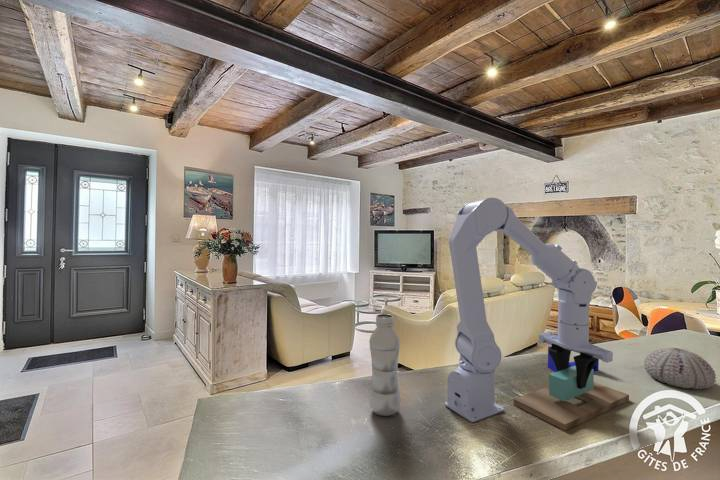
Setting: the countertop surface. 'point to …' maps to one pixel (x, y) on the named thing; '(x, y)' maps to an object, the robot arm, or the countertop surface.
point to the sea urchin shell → (680, 368)
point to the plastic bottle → (384, 367)
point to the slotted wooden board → (570, 405)
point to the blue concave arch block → (571, 364)
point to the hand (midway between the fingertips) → (572, 383)
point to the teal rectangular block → (568, 384)
